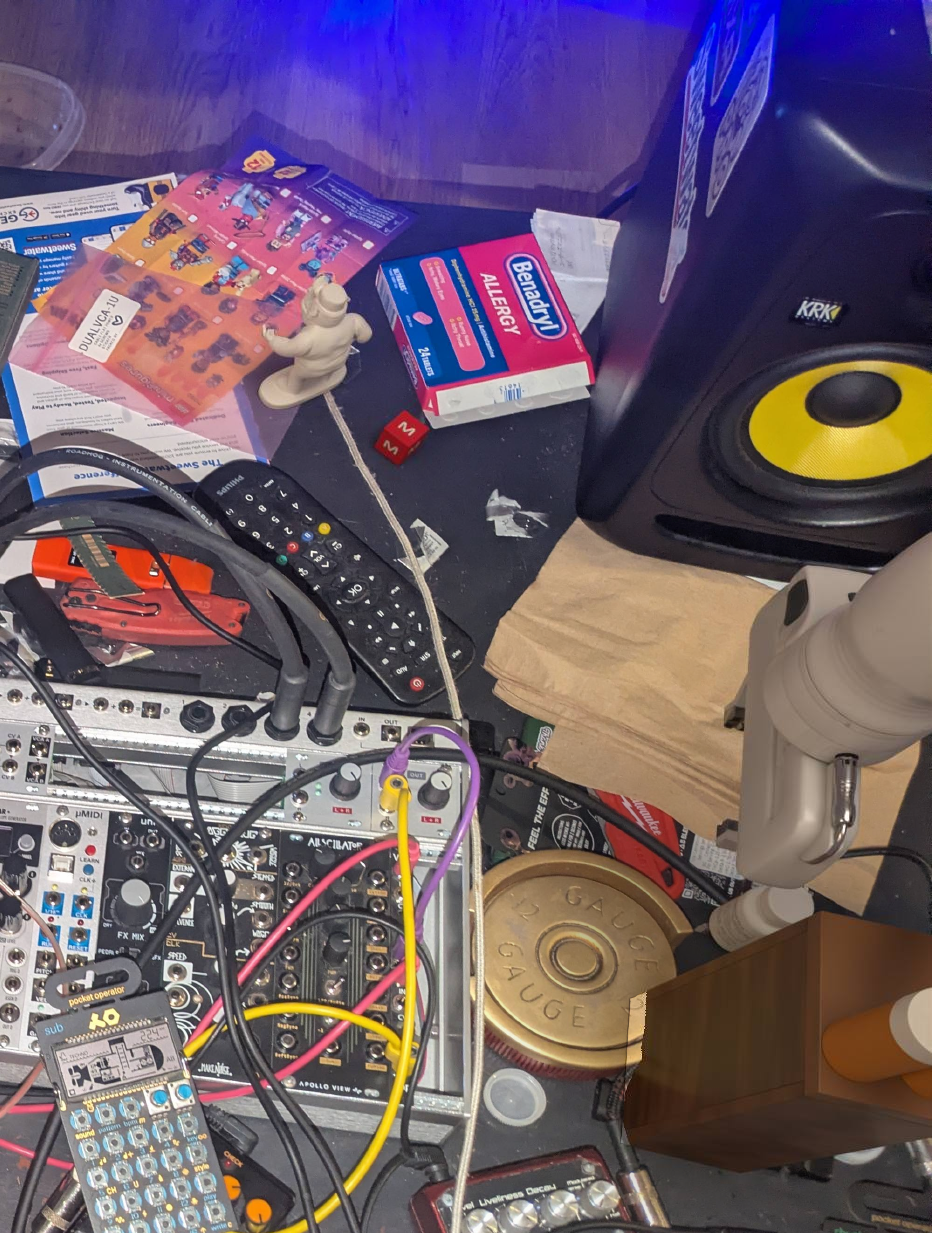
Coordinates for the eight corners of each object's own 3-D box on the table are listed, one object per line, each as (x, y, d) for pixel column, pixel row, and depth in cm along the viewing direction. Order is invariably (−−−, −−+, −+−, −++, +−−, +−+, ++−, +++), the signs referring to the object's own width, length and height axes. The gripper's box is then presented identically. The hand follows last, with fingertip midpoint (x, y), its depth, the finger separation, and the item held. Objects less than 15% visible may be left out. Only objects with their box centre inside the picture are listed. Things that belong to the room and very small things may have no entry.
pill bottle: (762, 910, 112) (821, 881, 105) (762, 960, 111) (821, 934, 104) (707, 898, 113) (761, 869, 106) (706, 948, 111) (761, 922, 104)
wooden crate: (745, 1024, 109) (954, 949, 87) (740, 1173, 105) (958, 1133, 83) (629, 998, 110) (807, 916, 88) (619, 1143, 106) (803, 1096, 84)
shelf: (954, 949, 87) (971, 943, 86) (958, 1133, 83) (976, 1129, 82) (807, 916, 88) (821, 909, 87) (803, 1096, 84) (818, 1092, 83)
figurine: (320, 338, 135) (357, 249, 124) (357, 387, 133) (398, 300, 121) (241, 373, 134) (271, 286, 122) (277, 422, 131) (310, 338, 120)
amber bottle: (891, 1026, 84) (986, 997, 77) (891, 1092, 83) (988, 1069, 75) (820, 1009, 85) (907, 979, 77) (818, 1075, 83) (908, 1050, 76)
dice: (418, 448, 130) (429, 428, 127) (398, 466, 129) (409, 447, 126) (394, 429, 131) (404, 409, 128) (373, 447, 130) (383, 428, 127)
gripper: (907, 858, 79) (771, 927, 91) (911, 564, 86) (784, 666, 98) (791, 832, 80) (672, 904, 92) (804, 543, 87) (692, 647, 99)
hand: (730, 779), depth 95 cm, fingers open, 8 cm apart
